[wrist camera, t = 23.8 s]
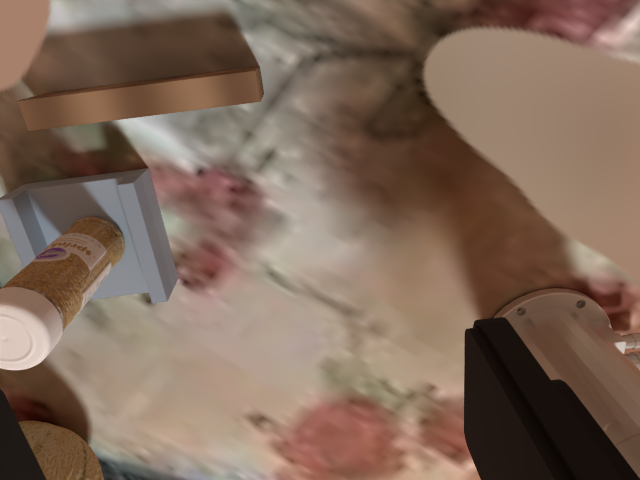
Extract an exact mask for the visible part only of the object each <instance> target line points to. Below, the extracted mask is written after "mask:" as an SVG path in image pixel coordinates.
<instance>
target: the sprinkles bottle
mask: <svg viewBox="0 0 640 480" xmlns="http://www.w3.org/2000/svg"><path fill="white" fill-rule="evenodd" d="M124 251H125V239H124V237H123V235H122V233H121V231H120V230H119V229H118V228H117V227H116V226H115V225H114V224H113V223H111V222H109V221H108V220H105V219H103V218H98V217H84V218H82V219H79V220H77V221H76V222H74V223H73V224H72V225H71V226H70V227H69V229H68V230H67V231H66V232H65V233H64V234H63V235H62V236H60V237H58V238H57V239H55V240H54V241H53V242H52V243H51V244H50V245H49V246H47V247H46V248H45V249H44V250H43V251H42V252H41V253H39V254H38V255H37V256H36V257H35V258H34V259H33V261H32V262H31V263H30V264H28V265H27V266H26V267H25V268H24V269H22V270H21V271H20V272H19V273H18V274H17V275H16V276H15V277H14V278H12V279H11V280H10V281H9V282H8V283H7V284H6V285H5V286H3V287H2V288H1V289H0V368H1V369H6V370H24V369H28V368H31V367H33V366H35V365H37V364H39V363H40V362H41V361H43V360H44V359H45V358H46V356H47V355H48V354H49V353H50V352H51V351H52V349H53V348H54V347H55V346H56V344H57V343H58V342H59V340H60V338H61V335H62V333H63V331H64V329H65V328H66V326H67V325H68V324H69V323H70V322H71V321H72V319H73V318H74V316H76V315H77V314H78V313H79V312H80V310H81V309H82V308H83V307H84V305H85V304H86V303H87V302H88V300H89V299H90V298H91V297H92V295H93V294H94V293H95V291H96V290H97V289H98V287H99V286H100V285H101V283H102V282H103V281H104V280H105V278H106V277H107V276H108V274H109V272H110V270H111V269H112V268H113V266H114V265H115V264H117V263H118V262H119V261H120V260H121V258H122V257H123V255H124Z"/></svg>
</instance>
